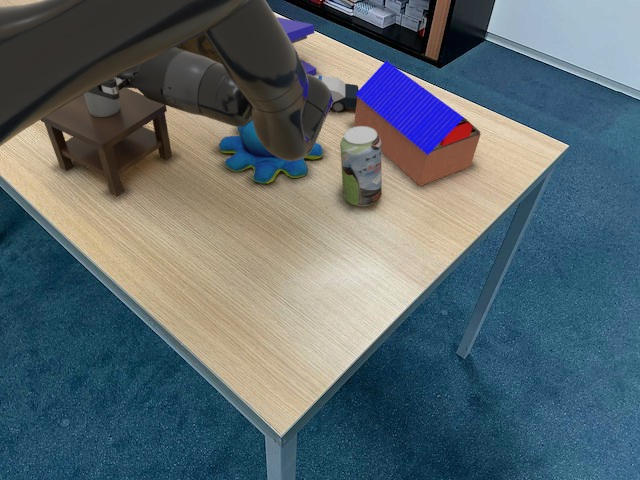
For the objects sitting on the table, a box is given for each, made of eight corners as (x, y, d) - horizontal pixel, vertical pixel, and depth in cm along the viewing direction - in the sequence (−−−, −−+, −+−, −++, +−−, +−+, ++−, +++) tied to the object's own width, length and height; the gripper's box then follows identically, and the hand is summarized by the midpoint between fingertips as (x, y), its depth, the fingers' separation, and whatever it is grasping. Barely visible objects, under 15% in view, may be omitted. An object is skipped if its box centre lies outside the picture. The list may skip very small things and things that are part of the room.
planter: (95, 100, 84) (77, 35, 77) (124, 102, 84) (109, 38, 77) (84, 116, 81) (65, 50, 73) (114, 119, 81) (98, 53, 73)
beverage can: (374, 215, 84) (385, 152, 75) (329, 203, 85) (335, 140, 77) (384, 191, 88) (396, 128, 80) (341, 180, 90) (348, 117, 81)
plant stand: (116, 198, 83) (102, 144, 76) (57, 168, 88) (38, 114, 80) (174, 156, 91) (166, 104, 84) (117, 130, 96) (105, 78, 89)
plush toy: (210, 132, 97) (206, 91, 91) (300, 117, 102) (301, 77, 96) (235, 191, 86) (232, 148, 80) (334, 171, 91) (338, 129, 85)
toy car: (277, 94, 107) (277, 70, 104) (358, 99, 107) (361, 76, 104) (274, 107, 104) (274, 84, 100) (358, 113, 104) (361, 90, 100)
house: (402, 110, 106) (412, 53, 97) (473, 166, 94) (492, 107, 86) (351, 126, 101) (358, 68, 92) (419, 187, 89) (434, 127, 81)
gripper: (212, 32, 73) (116, 4, 78) (144, 78, 64) (39, 43, 68) (216, 83, 79) (126, 54, 83) (154, 132, 69) (56, 96, 74)
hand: (87, 49), depth 76 cm, fingers open, 8 cm apart
